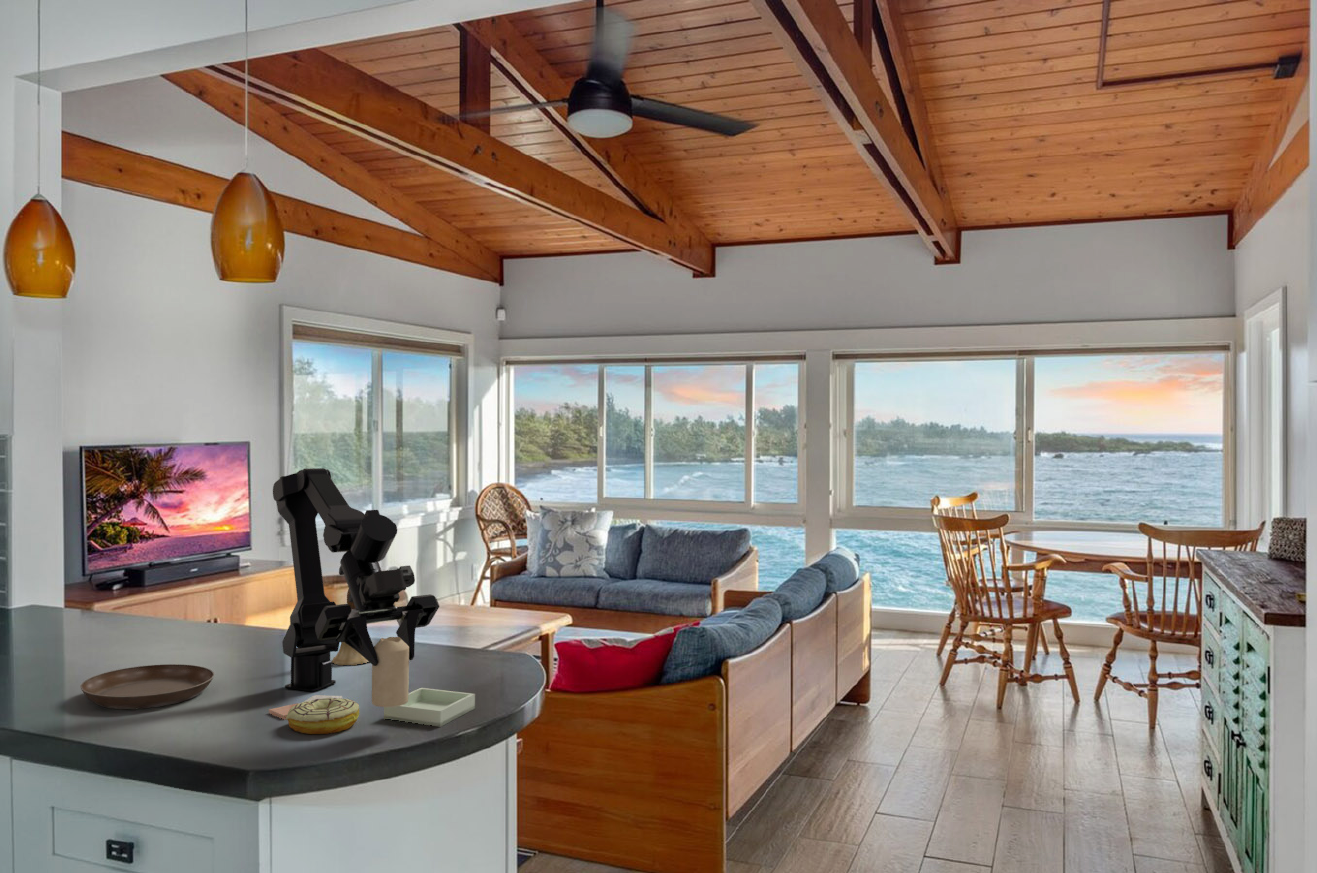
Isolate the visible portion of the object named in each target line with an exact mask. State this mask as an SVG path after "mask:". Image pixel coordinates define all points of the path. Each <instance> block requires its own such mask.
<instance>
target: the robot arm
mask: <svg viewBox="0 0 1317 873" xmlns="http://www.w3.org/2000/svg"><path fill="white" fill-rule="evenodd" d="M342 494H343V493H341V492H340V490H339V489H338V487H337V485H336V484H335V483H334V481H333V479H332V475H331V471H330V470H329V469H327V468H322V467H321V468H320V467H319V468H318V467H316V468H303V469H300V470H298V471H297V472H294V473H291V474H287V475H282V476H280V477H279V479H277V480H276V481H275V482H274V484H273V486H272V497H273V500H274V501H275V502H276V508H277V512H278V514H279V515H280V516H281V517H282V518H283V520H284V521H285V522H286V523H287V524H288V529H289V538H290V539H289V540H290V547H291V553H292V563H293V573H294V581H295V582H294V583H295V590H296V598H297V599H296V600H297V601H296V603H295V605H294V608H293V610H292V612H291V614H290V616H289V626H288V628H287V630H286V633H285V634H284V637H283V640H282V642H281V644H282V653H283V655H286V656H287V657H290V683H288V684H285V685H284V689H288V690H297V691H305V692H316V691H319V690H321V689H324V688H327V687H329V686H330V687H331V686H332V685H334V684H336V682H337V681H336V680H334V679H333V663H332V660H331V652H334V653H335V652H339V648H340V644H341V642H345V643H346V644H347V645H349V646H350V647H352V648H353V649H355V650H356V651H357V652H358V653H360V654H361V655H362V656H363V657H364V658H365V659H367V660H368V661H369V662H370V663H369V664H371V666H372V665H373V666H377V664H378V658H377V654H376V651H375V648H374V646H375V645H374V644H373V641H372V638H371V635H370V633H369V631H368V625H370V624H376V623H384V622H392V621H396V622H397V624H398V628H397V630H396V632H395V634H396V635H397V636H396V637H400V638H401V639H402V640H403V641H404V642H405V643H406V644H407V645H408V646H409V661H412V660H414V658H415V646H416V645H415V640H416V639H415V637H416V629H417V628H423V627H424V628H425V627H427V626H429V625H430V624H431V623H432V622H431V621H432V620H433V618H434V616H435V615H436V614H437V611H438V610H439V608H440V604H439V602H438V599H437V597H436V596H435V595H434V594H421V595H413V596H411V597H410V598H409V600H408V602H407V604H406V605H402V606H396V605H395V603H397V602H399V599H400V598H401V596H400V593H401V592H402V591H406V590H407V588H410V587H411V586H413V585H414V584H415V582H416V578H415V572H414V570H413V569H412V567H411V565H400V566H399V567H398V568H395V569H389V570H388V569H387V570H382V568H381V566H380V562H381V561H383V560H384V559H385V558H386V556H387V554H388V552H389V551H390V548H391V546H392V544H393V542H394V540H395V538H396V536H397V534H398V526H397V524H396V523H394V521H393V520H391V519H390V518H389V517H387V516H385V515H383V514H381V513H380V511H379V509H366V510H365V512H363V511H361V510H358V509H356V508H353V507H351V506H350V505H349V504H348V502H347V501H346V499H345V497H344V496H343V495H342ZM318 515H319V517H320V519H321V520H322V522H323V523H324V529H323V534H322V537H323V541H324V545H326V547H327V548H328V550H329V551H330V552H331V553H344V554H343V555H342V557H341V559H340V562H339V563H340V564H339V565H340V566H339V569H338V575H339V576H344V579H345V582H346V584H347V587H348V589H349V590H350V594H349V596H348V599H349V602H354V605H355V608H356V609H351V607H350V605H348V604H347V603H343V604H341V603H340V604H337V603H336V602H335V601H330V599H329V598H328V597H327V596H326V593H325V587H324V580H323V571H322V570H323V569H322V562H321V555H320V554H321V553H320V548H319V547H320V546H319V539H318V538H319V537H318V530H317V521H316V518H317V516H318Z"/></svg>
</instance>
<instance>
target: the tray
mask: <svg viewBox="0 0 1317 873" xmlns="http://www.w3.org/2000/svg"><path fill="white" fill-rule="evenodd" d="M475 709H476V693H472V692H462V691H454V690H453V691H452V690H451V691H450V690H443V689H437V688H435V689H434V688H427V687H420V688H418V689H415V690H413V691H411V692H410V691H409V692H408V702H407V703H406V704H403V705H400V706H394V707H383V720H385V719H393V720H399V721H398V722H400V721H405V722H404V723H408V722H412V723H411V724H415V723H418V724H417V725H423V724H424V725H423V726H430V725H432V727H440V728H441V727H443V726H444V725H446V724H448V723H451V722H453V721H454V720H456V719H458V718H460V717H462V716H463V715H466V714H467V713H470V712H472V711H473V710H475Z"/></svg>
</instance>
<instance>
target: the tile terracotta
mask: <svg viewBox="0 0 1317 873" xmlns="http://www.w3.org/2000/svg"><path fill="white" fill-rule="evenodd" d="M298 704H299V703H292V704H287V705H283V706H279V707H274V708H269V709H268V714H269V713H270V715H271V714H272V715H271V716H273V717H276V716H277V717H276V718H278V717H279V718H278V719H281V718H282V719H281V720H283V719H284V720H283V721H285V719H286V717H287V714H288V712H289V710H290V709H291V708H292V707H293V706H295V705H298ZM286 720H287V719H286Z"/></svg>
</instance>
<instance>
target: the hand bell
mask: <svg viewBox="0 0 1317 873" xmlns="http://www.w3.org/2000/svg"><path fill="white" fill-rule="evenodd" d="M349 594H350V590H349V588H348V589H347V592H346V604H348V605H350V607H351V609H356V608H355V605H354V602H349V599H348V596H349ZM331 661H332V664H333V663H334V665H336V664H337V665H336V666H343V665H351V666H358V665H357V664H361V665H364V664H363V663H366V664H368V663H367V662H369V661H368V660H367V659H365V658H364V657H363V656H362V655H361V654H360V653H358V652H357V651H356V650H355V649H353V648H352V647H350V646H349V645H347V644H346V643H345V642H340V645H339V648H338V651H337V653H336V655H335V657H333V658H332V660H331Z"/></svg>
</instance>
